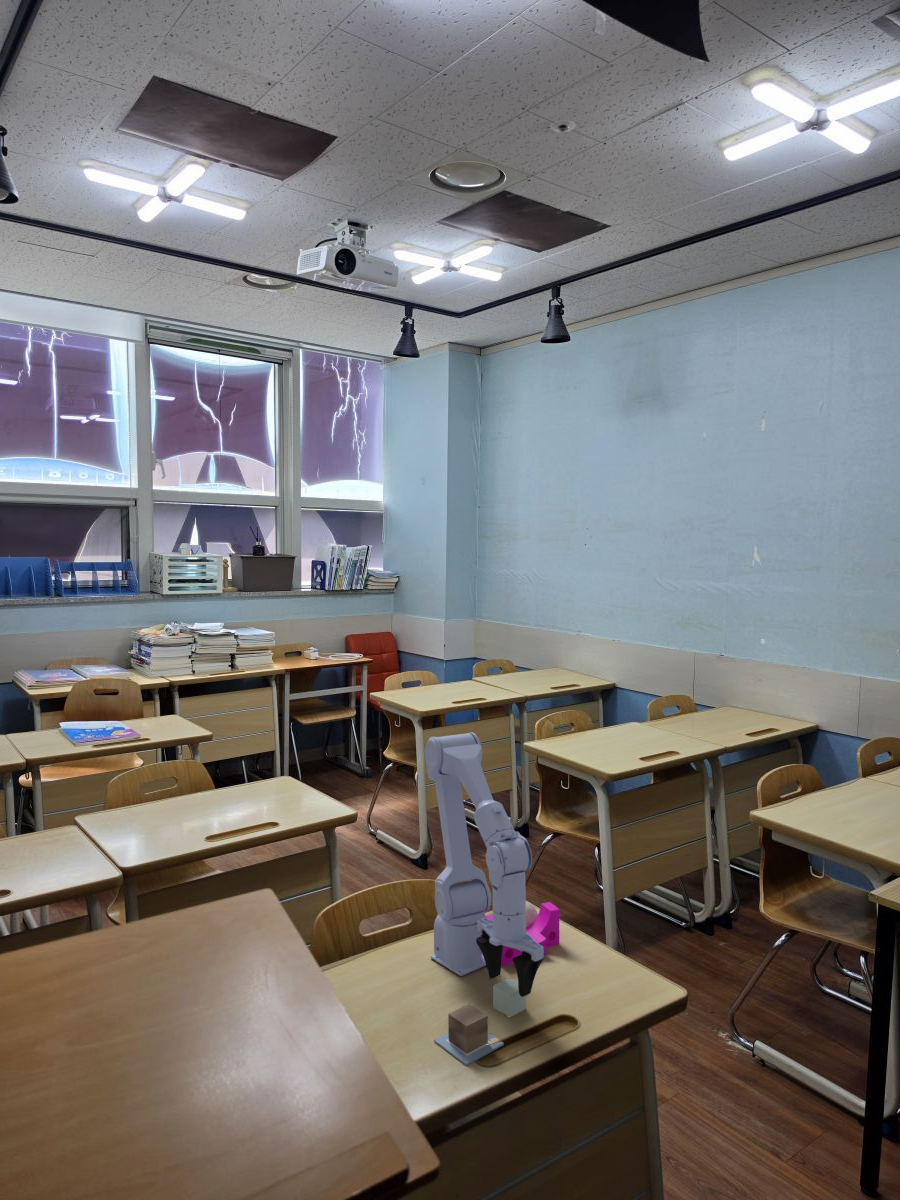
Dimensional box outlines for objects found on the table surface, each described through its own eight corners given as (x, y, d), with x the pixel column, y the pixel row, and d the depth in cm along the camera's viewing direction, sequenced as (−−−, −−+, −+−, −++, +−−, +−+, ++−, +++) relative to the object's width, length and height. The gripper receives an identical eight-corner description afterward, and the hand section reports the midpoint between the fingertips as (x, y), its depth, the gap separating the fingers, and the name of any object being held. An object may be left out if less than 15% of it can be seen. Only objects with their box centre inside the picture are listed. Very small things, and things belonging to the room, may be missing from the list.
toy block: (500, 967, 152) (499, 929, 151) (485, 952, 157) (484, 916, 157) (566, 950, 158) (566, 914, 157) (549, 937, 164) (549, 901, 163)
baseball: (523, 945, 160) (522, 912, 160) (498, 932, 166) (498, 901, 165) (546, 934, 164) (546, 903, 164) (521, 922, 170) (521, 892, 169)
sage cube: (493, 1007, 138) (493, 985, 138) (509, 999, 140) (509, 977, 140) (509, 1018, 135) (509, 995, 135) (525, 1009, 137) (525, 986, 137)
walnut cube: (448, 1040, 128) (448, 1013, 128) (469, 1029, 131) (469, 1003, 130) (466, 1054, 124) (466, 1026, 124) (487, 1042, 127) (487, 1015, 127)
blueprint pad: (434, 1041, 128) (434, 1039, 128) (471, 1022, 133) (471, 1021, 133) (466, 1065, 122) (466, 1063, 122) (503, 1045, 127) (503, 1043, 127)
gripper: (464, 901, 140) (465, 976, 140) (522, 930, 128) (522, 1011, 129) (493, 890, 144) (494, 963, 145) (552, 917, 133) (552, 996, 134)
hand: (509, 985), depth 137 cm, fingers open, 7 cm apart
